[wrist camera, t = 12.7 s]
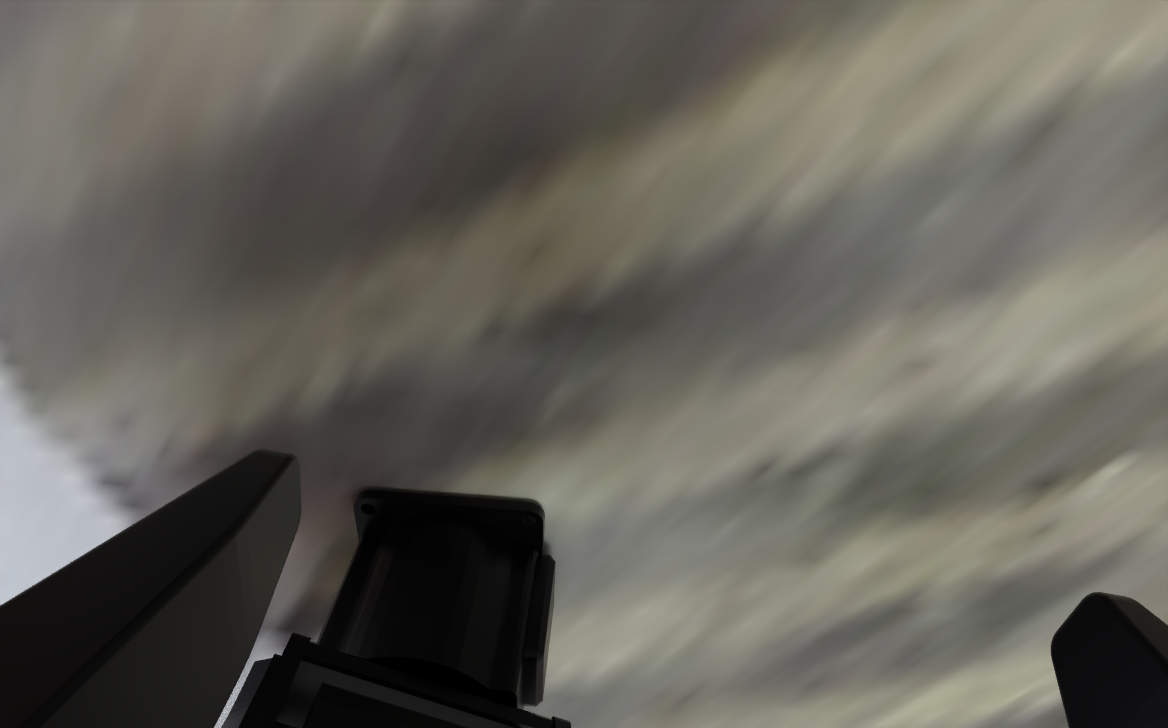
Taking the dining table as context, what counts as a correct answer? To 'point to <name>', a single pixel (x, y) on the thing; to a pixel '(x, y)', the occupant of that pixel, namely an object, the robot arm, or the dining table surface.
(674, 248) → the dining table surface
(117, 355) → the dining table surface
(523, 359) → the dining table surface
